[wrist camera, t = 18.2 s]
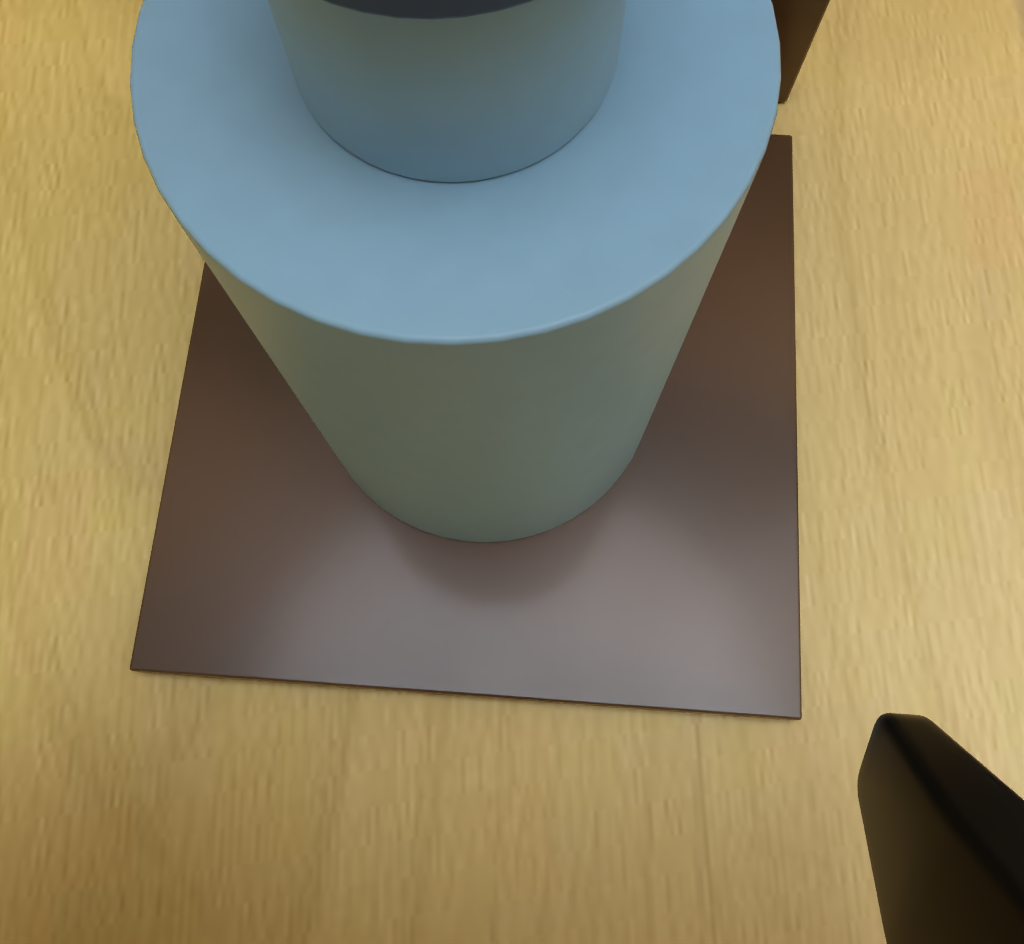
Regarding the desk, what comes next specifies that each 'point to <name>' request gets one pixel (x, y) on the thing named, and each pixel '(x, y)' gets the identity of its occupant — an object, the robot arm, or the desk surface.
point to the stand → (516, 563)
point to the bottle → (462, 220)
